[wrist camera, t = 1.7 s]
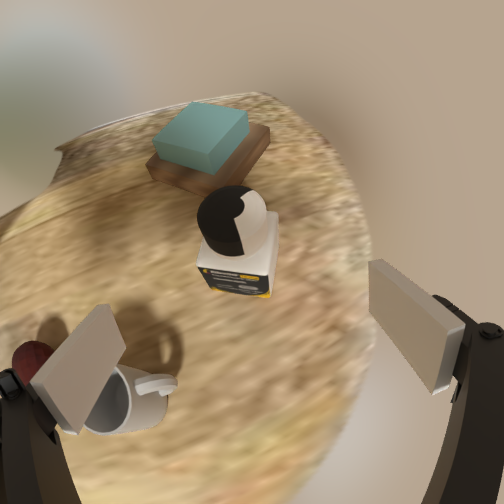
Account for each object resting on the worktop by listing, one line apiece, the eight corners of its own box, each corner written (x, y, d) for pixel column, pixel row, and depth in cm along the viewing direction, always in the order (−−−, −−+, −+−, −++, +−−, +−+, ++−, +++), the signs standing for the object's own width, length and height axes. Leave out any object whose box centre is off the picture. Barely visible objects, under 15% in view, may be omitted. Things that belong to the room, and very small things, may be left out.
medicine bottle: (210, 290, 34) (178, 239, 23) (223, 238, 37) (201, 173, 26) (270, 299, 32) (265, 249, 22) (279, 244, 36) (277, 178, 25)
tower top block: (160, 158, 40) (151, 139, 37) (197, 120, 44) (192, 101, 41) (214, 175, 38) (208, 154, 34) (249, 131, 41) (247, 111, 38)
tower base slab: (153, 181, 44) (145, 164, 40) (201, 128, 49) (196, 111, 46) (226, 207, 40) (221, 189, 36) (270, 145, 45) (269, 126, 42)
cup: (107, 380, 29) (61, 370, 21) (176, 352, 30) (142, 336, 23) (127, 435, 26) (82, 441, 18) (201, 410, 27) (172, 415, 19)
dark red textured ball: (32, 358, 31) (-1, 347, 24) (65, 339, 32) (31, 325, 26) (45, 405, 27) (10, 400, 21) (80, 388, 29) (44, 382, 22)
